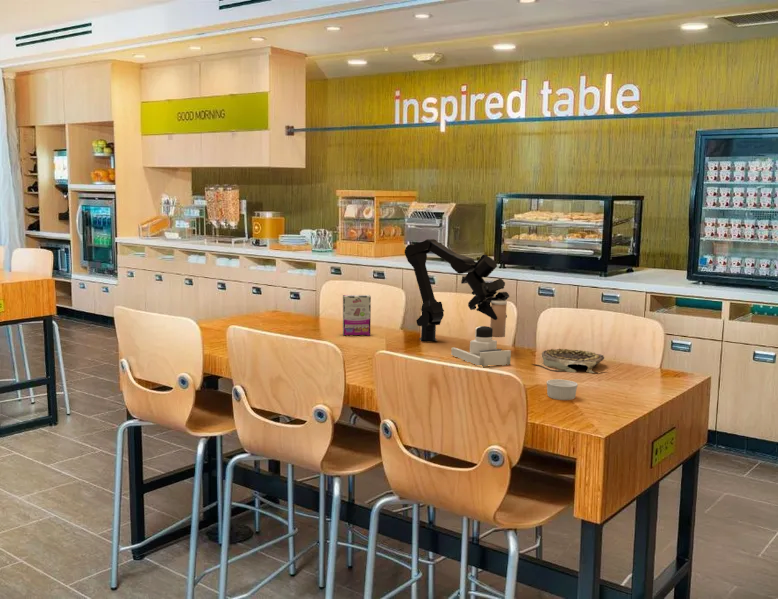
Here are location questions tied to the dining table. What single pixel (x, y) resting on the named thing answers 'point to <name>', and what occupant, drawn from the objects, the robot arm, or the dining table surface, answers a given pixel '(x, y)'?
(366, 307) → the candy bar box
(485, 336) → the medicine bottle
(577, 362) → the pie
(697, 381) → the dining table surface
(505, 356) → the lane
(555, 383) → the ramekin
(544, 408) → the dining table surface
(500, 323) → the spice jar
